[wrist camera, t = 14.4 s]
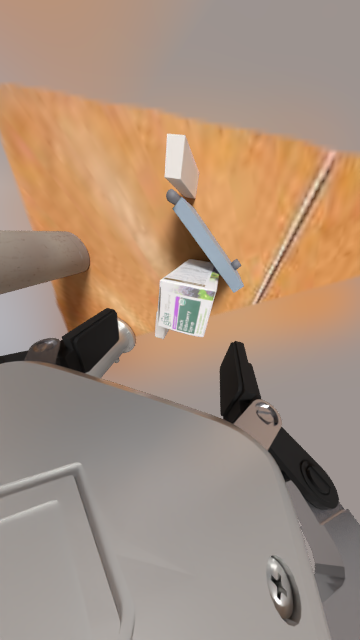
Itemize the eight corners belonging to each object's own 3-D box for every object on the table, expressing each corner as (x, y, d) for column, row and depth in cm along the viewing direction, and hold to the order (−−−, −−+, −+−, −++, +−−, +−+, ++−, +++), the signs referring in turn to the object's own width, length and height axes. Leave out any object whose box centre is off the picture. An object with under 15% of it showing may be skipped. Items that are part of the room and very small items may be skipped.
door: (243, 268, 24) (252, 283, 16) (230, 277, 25) (234, 294, 18) (194, 195, 20) (180, 174, 13) (182, 209, 22) (163, 197, 14)
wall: (177, 314, 32) (163, 339, 24) (170, 312, 32) (155, 336, 25) (199, 173, 19) (185, 135, 12) (188, 171, 20) (167, 133, 12)
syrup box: (213, 293, 27) (206, 340, 15) (183, 288, 28) (156, 327, 16) (220, 263, 24) (219, 291, 12) (187, 257, 25) (157, 279, 13)
